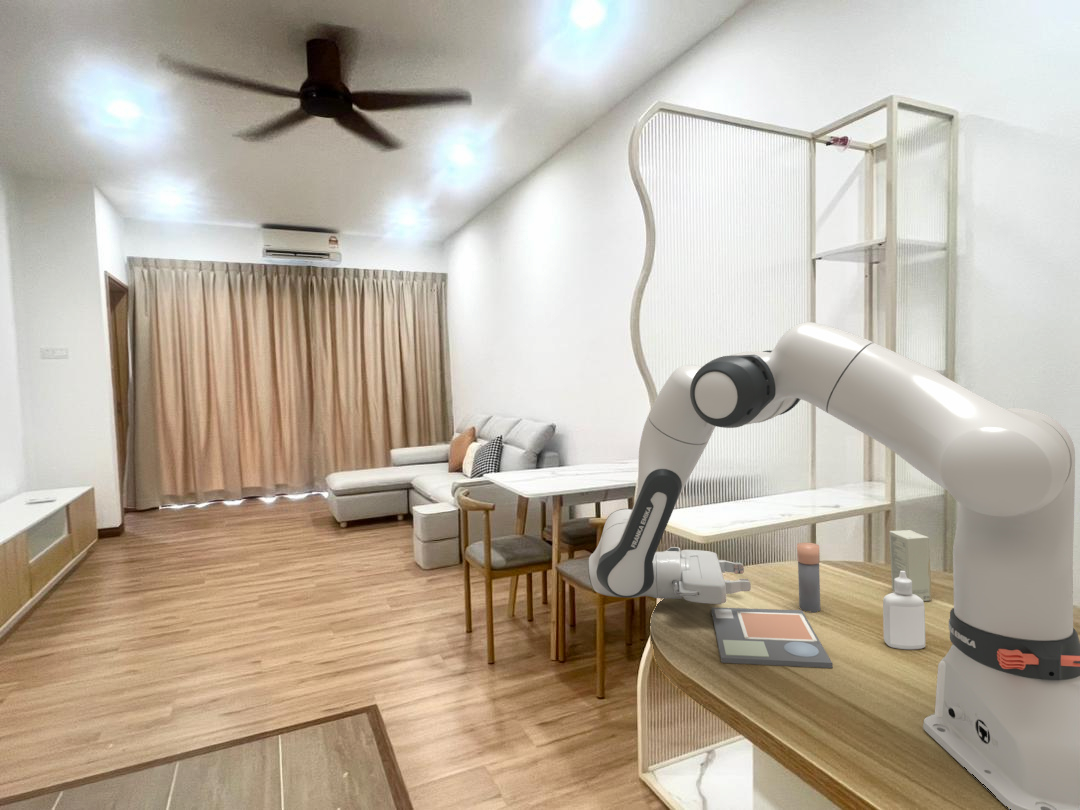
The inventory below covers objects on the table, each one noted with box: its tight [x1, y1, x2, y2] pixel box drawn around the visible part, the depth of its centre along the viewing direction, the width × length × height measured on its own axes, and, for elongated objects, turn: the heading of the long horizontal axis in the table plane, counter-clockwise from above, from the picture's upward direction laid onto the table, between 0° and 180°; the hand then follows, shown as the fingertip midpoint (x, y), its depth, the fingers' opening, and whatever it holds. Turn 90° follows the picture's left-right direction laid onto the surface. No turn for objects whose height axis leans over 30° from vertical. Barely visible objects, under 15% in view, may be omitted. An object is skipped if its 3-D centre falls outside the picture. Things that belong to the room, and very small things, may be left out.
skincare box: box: [888, 529, 933, 602], centre depth 114 cm, size 6×4×12 cm
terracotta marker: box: [796, 542, 821, 613], centre depth 110 cm, size 4×4×12 cm
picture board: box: [710, 607, 833, 669], centre depth 100 cm, size 20×16×1 cm
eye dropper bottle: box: [882, 571, 926, 650], centre depth 94 cm, size 4×6×12 cm
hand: (746, 576), depth 113 cm, fingers open, 8 cm apart
